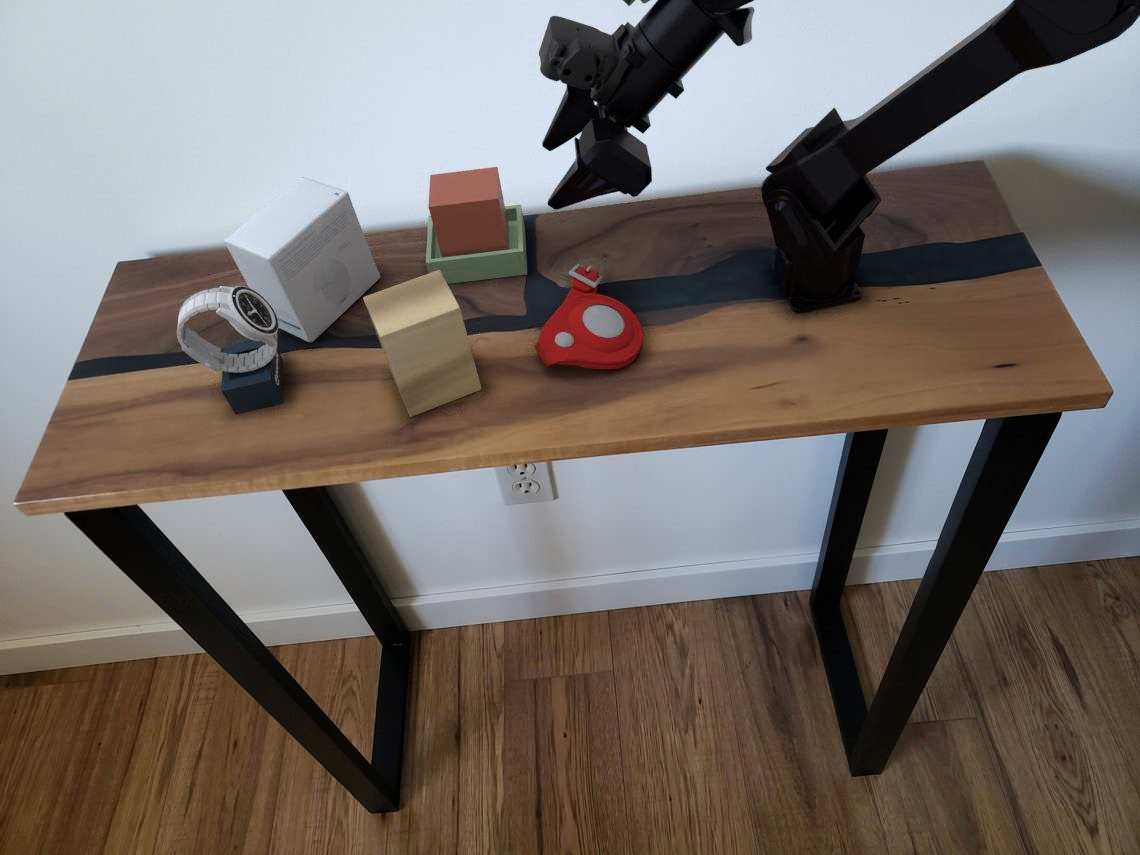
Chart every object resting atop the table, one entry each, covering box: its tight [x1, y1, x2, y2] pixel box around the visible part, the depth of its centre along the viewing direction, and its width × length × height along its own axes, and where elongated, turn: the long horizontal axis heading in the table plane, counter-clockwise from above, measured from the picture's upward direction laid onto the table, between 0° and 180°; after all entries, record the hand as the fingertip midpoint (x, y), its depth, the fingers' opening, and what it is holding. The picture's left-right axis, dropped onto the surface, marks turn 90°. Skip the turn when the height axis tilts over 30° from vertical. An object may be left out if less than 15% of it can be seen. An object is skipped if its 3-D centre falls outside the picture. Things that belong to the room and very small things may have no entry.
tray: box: [425, 204, 529, 285], centre depth 87 cm, size 10×7×3 cm
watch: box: [176, 285, 284, 415], centre depth 75 cm, size 6×8×11 cm
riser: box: [362, 270, 483, 418], centre depth 73 cm, size 5×7×10 cm
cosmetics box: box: [223, 176, 381, 343], centre depth 82 cm, size 10×6×10 cm, turn 147°
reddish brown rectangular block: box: [428, 166, 509, 258], centre depth 84 cm, size 5×6×7 cm
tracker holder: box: [533, 263, 644, 370], centre depth 78 cm, size 12×4×10 cm
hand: (548, 176), depth 81 cm, fingers open, 9 cm apart
